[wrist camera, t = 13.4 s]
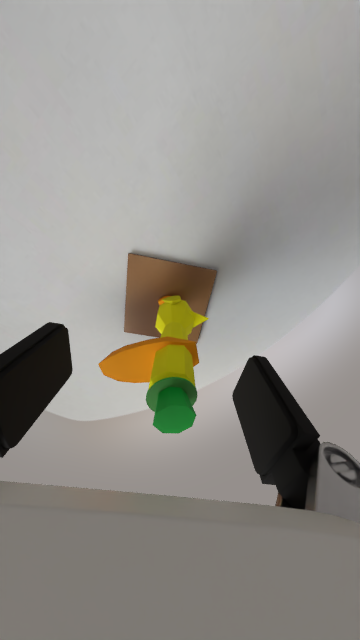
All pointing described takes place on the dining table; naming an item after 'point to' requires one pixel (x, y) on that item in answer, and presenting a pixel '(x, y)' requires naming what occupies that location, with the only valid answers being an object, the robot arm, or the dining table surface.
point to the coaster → (163, 291)
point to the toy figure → (163, 365)
